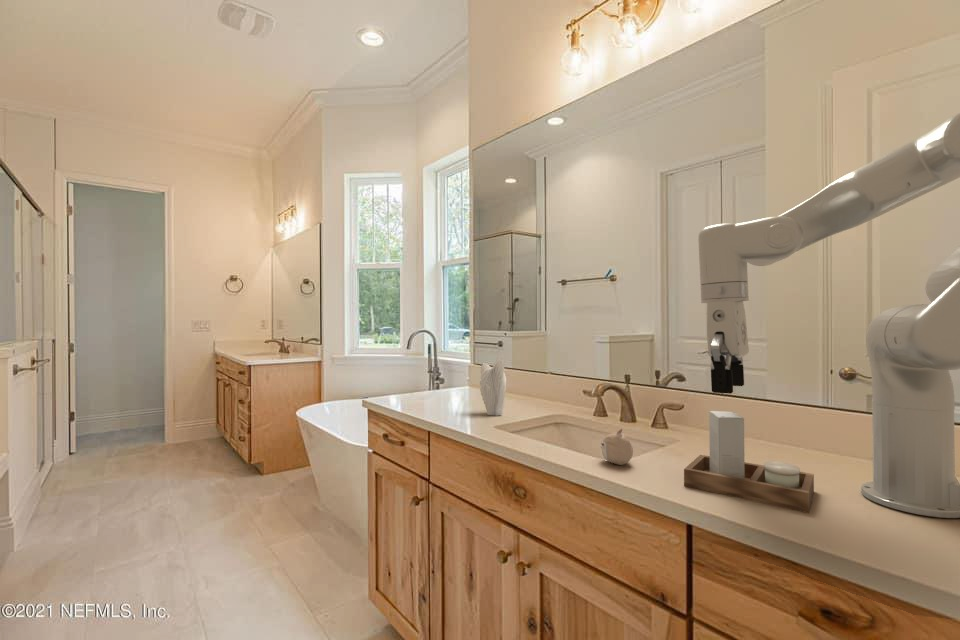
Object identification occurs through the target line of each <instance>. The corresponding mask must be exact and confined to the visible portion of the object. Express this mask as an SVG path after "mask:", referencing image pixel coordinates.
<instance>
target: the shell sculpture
mask: <svg viewBox="0 0 960 640" xmlns="http://www.w3.org/2000/svg"><path fill="white" fill-rule="evenodd" d="M504 364H505V362H504V360H503V358H497V359H496V362H495V363H494V364H493V366H492V367H491V366H490V365H489V364H488V363H485V362H482V364H481V366H480V381H479V385H480V391H479V392H480V395H481V397H482V401H483V404H484V407H485V410H486V413H487V415H488V416H494V417H495V416H502V415H503V413H504V408H505V407H504V406H505V399H506V392H507V377H506V372H505V366H504Z"/></svg>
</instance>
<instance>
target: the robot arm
mask: <svg viewBox="0 0 960 640" xmlns="http://www.w3.org/2000/svg"><path fill="white" fill-rule="evenodd" d="M959 178H960V112H959V113H957V114H955V115H952V116H951V117H949V118H948V119H946V120H945V121H943V122H942V123H940V124H938V125H937V126H935V127H934V128H932V129H931V130H929V131H927V132H926V133H924V134H922V135H920V136H918V137H916V138H915V139H913V140H912V141H911V140H910V141H909V142H907V143H905V144H904V145H901V146H899V147H898V148H896V149H894V150H892V151H890V152H888V153H887V154H885V155H882V156H880V157H878V158H876V159H874V160H871V161H870V162H868V163H866V164H865V165H862V166H861V167H860V166H859V168H857V169H854V170H852V171H851V172H849V173H848V172H847V174H845V175H843V176H842V177H840V178H838V179H836V180H835V181H833V182H831V183H830V184H829V185H827V186H826V187H824V188H823V189H821V190H820V191H819V192H817V193H816V194H814V195H813V196H811V197H810V198H808V199H806V200H804V201H803V202H801V203H800V204H798V205H796V206H794V207H793V208H791V209H789V210H787V211H786V212H784V213H783V212H782V214H780V215H775V216H768V217H764V218H759V219H754V220H751V221H745V222H739V223H736V222H733V223H732V222H731V223H730V222H726V223H719V224H713V225H709V226H705V227H704V228H702V229H701V230H700V232H699V234H698V261H699V278H700V279H699V280H700V300H701V301H700V302H701V304H706V339H707V340H706V341H707V343H706V344H707V352H708V355H709V356H710V361H711V362H710V381H711V382H710V383H711V392H712V393H714V394H715V393H716V394H727V395H729V394H732V393H734V387H744V386H745V373H744V371H745V370H744V363H743V362H744V360H743V357H745V356H746V355H747V354H749V351H750V349H749V339H748V327H747V326H748V325H747V318H746V310H745V305H744V304H745V303H744V302H748V301H750V300H749V280H748V279H749V277H748V264H750V265H752V266H755V267H765V266H771V265H773V264H775V263H777V262H780V261H783V260H785V259H788V258H789V257H791V256H792V255H793V254H795V253H796V252H799V251H801V250H803V249H806V248H807V247H809V246H811V245H814V244H815V243H818V242H820V241H821V240H824V239H827V238H828V237H831V236H833V235H836V234H839V233H842V232H844V231H847V230H850V229H853V228H857V227H858V226H860V225H863V224H865V223H867V222H870V221H872V220H874V219H876V218H878V217H881V216H882V215H885V214H886V213H889V212H890V211H892V210H894V209H896V208H899V207H901V206H903V205H905V204H907V203H909V202H911V201H914V200H915V199H917V198H919V197H921V196H925V195H926V194H928V193H930V192H932V191H935V190H936V189H938V188H940V187H943V186H945V185H947V184H949V183H951V182H952V181H955V180H957V179H959ZM924 289H925V294H926V296H927V298H928V300H929V301H930V303H929V304H928V303H927V304H923V303H922V304H907V305H898V306H894V307H891V308H888V309H885V310H883V311H882V312H880V313H879V314H877V315H876V316H875V317H874V318H873V319H872V320H871V322H870V323H869V325H868V327H867V330H866V336H865V345H866V350H867V356H868V360H869V364H870V365H869V366H870V373H871V390H872V391H871V394H872V398H871V399H872V400H871V401H872V402H871V408H872V414H871V415H872V417H871V419H872V425H871V426H872V481H869V482H864V483H862V484H861V486H860V492H861V495H863V496H864V497H865V498H866V499H868V500H870V501H872V502H874V503H875V504H879V505H881V506H884V507H886V508H890V509H893V510H896V511H902V512H905V513H910V514H914V515H918V516H919V515H920V516H925V517H933V518H940V519H941V518H943V519H960V482H959V480H958V479H957V477H956V469H955V468H956V465H955V464H956V463H955V462H956V461H955V455H956V453H955V406H956V405H955V401H956V400H955V391H954V390H955V389H954V386H953V381H952V377H951V373H950V371H957V370H960V246H959V247H957V248H956V249H955V250H954V251H953V252H952V253H950V255H949V256H948V257H946V259H944V260H943V261H942V262H941V263H940V264H939V265H937V266H936V267H935V268H934V269H933V270H932V272H931V273H930V274H929V276H928V277H927V279H926V283H925V288H924Z"/></svg>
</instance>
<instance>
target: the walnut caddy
mask: <svg viewBox="0 0 960 640" xmlns="http://www.w3.org/2000/svg"><path fill="white" fill-rule="evenodd" d="M744 470H745V479H742V478H737V477H732V476H727V475H721V474H716V473H711V472H710V455H704V454H699V455H698V456H697V457H696V458H695V459H694V460H692V461H691V462H690V463H689V464H688V465H687V466H685V468H684V469H683V486H684V487H688V488H692V489H697V490H702V491H706V492H711V493H716V494H721V495H725V496H729V497H734V498H739V499H742V500H748V501H752V502H756V503H757V502H758V503H762V504H766V505H771V506H774V507H775V506H776V507H780V508H784V509H790V510H794V511H799V512H803V513H809V512H810V509H811V505H812V501H813V496H814V494H815V481H814V480H815V479H814V477H815V474H814V473H811V472H803V471H800V474H799V489H795V488H790V487H784V486H779V485H774V484H769V483H765V469H764V464H763V465H761V464H758V463H752V462H751V463H750V462H745V461H744Z"/></svg>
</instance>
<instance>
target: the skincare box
mask: <svg viewBox="0 0 960 640" xmlns="http://www.w3.org/2000/svg"><path fill="white" fill-rule="evenodd" d="M708 413H709V417H708V418H709V420H708V421H709V422H708V423H709V424H708V425H709V428H708V429H709V434H708V435H709V437H708V438H709V440H708V441H709V456H710V472H711V473H716V474H721V475H727V476H732V477H737V478H742V479H745V470H744V462H745V418H744V417H742V416H740V415H739V414H737V413H735V412H733V411H717V410H710V411H709V412H708Z"/></svg>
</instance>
